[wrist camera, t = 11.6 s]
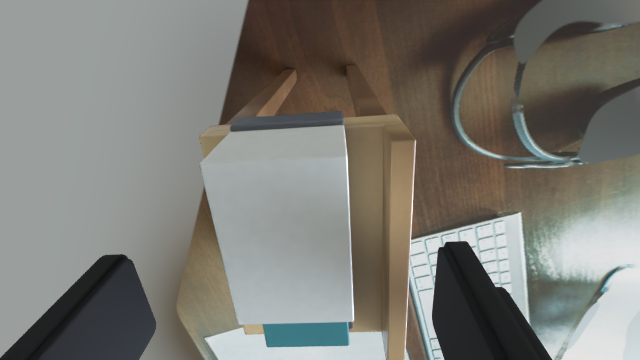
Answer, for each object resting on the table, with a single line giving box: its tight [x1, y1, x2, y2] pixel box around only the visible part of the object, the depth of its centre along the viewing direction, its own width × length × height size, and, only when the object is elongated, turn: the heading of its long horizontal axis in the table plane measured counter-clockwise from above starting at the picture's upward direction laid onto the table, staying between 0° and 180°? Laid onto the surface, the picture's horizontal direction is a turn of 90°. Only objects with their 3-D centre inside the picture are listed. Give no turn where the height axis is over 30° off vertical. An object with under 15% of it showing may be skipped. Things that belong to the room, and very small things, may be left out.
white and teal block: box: [200, 111, 354, 347], centre depth 13 cm, size 10×4×4 cm, turn 4°
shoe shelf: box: [199, 114, 416, 360], centre depth 15 cm, size 11×8×4 cm
